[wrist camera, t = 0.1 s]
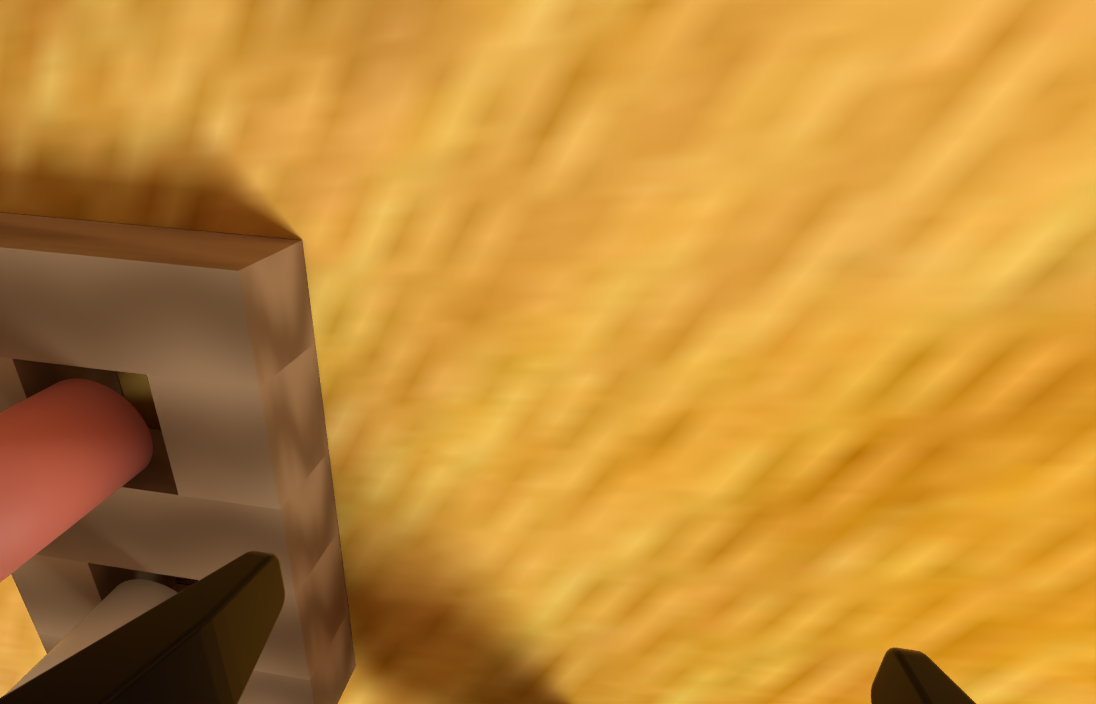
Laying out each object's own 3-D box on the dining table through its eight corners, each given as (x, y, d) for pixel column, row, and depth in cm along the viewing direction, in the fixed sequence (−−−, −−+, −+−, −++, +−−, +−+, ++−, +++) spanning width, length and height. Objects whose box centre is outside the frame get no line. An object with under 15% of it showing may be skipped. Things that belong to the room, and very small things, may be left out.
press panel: (355, 666, 33) (320, 738, 29) (124, 627, 34) (63, 691, 31) (302, 240, 23) (238, 270, 19) (-24, 210, 24) (-141, 233, 20)
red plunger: (164, 483, 23) (21, 604, 18) (63, 469, 24) (-106, 583, 18) (137, 385, 21) (-32, 488, 16) (28, 372, 22) (-171, 467, 17)
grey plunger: (211, 656, 28) (108, 796, 22) (125, 641, 28) (3, 775, 23) (192, 587, 26) (74, 721, 20) (100, 572, 26) (-39, 700, 21)
